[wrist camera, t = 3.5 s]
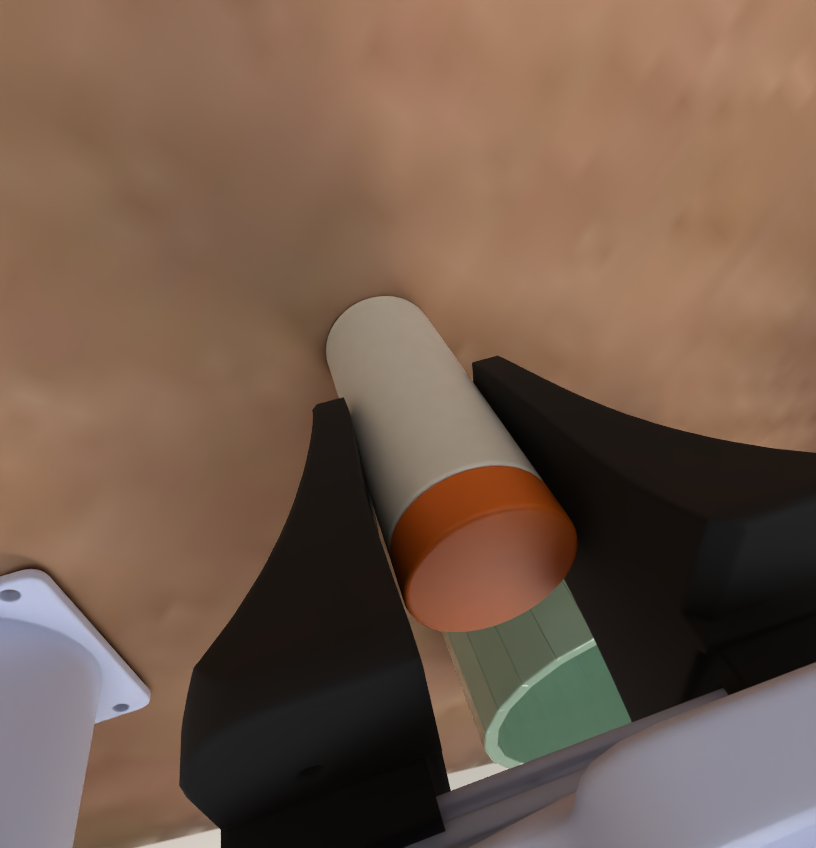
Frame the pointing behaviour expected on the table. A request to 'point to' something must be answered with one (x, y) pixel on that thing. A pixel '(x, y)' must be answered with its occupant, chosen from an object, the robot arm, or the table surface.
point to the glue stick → (444, 474)
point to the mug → (536, 681)
